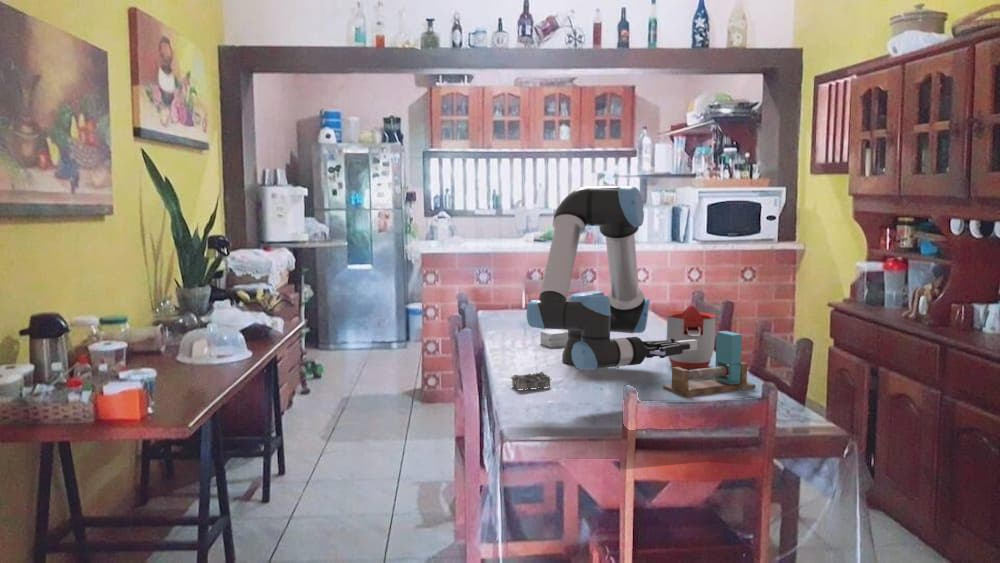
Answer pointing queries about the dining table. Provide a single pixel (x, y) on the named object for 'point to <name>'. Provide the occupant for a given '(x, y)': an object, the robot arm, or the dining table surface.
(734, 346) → the collar
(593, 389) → the dining table surface
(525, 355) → the dining table surface
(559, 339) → the small box
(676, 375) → the rail
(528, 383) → the egg carton
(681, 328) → the citrus juicer
